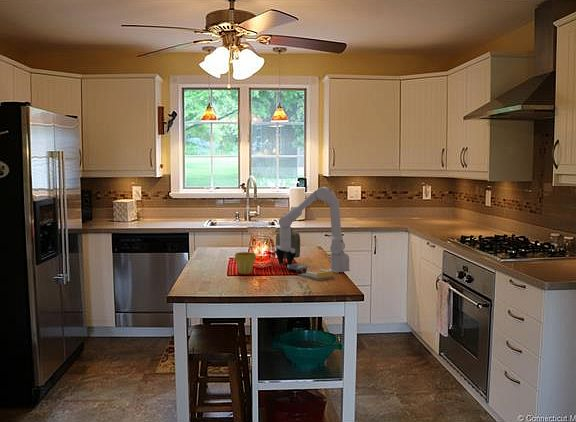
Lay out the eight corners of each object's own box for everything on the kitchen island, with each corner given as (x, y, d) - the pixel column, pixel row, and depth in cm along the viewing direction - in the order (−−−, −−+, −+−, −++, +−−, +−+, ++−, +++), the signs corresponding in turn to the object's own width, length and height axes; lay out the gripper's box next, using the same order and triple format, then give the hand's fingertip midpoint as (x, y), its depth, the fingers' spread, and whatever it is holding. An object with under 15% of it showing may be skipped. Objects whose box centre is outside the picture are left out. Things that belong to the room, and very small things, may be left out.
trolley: (296, 269, 280) (296, 262, 279) (307, 272, 273) (307, 265, 272) (287, 271, 276) (287, 264, 276) (297, 273, 269) (297, 267, 269)
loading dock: (312, 272, 272) (312, 265, 272) (333, 277, 260) (333, 270, 259) (297, 274, 266) (297, 267, 266) (317, 280, 254) (317, 273, 253)
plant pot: (255, 270, 277) (255, 251, 276) (255, 274, 267) (255, 255, 266) (235, 270, 277) (235, 251, 276) (234, 274, 267) (234, 255, 266)
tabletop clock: (300, 265, 292) (300, 219, 289) (284, 266, 288) (284, 220, 286) (290, 260, 305) (290, 217, 303) (275, 261, 302) (275, 217, 299)
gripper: (271, 238, 285) (271, 263, 286) (287, 241, 273) (287, 267, 274) (281, 237, 289) (281, 262, 290) (298, 240, 277) (298, 266, 278)
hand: (285, 264), depth 282 cm, fingers open, 7 cm apart
